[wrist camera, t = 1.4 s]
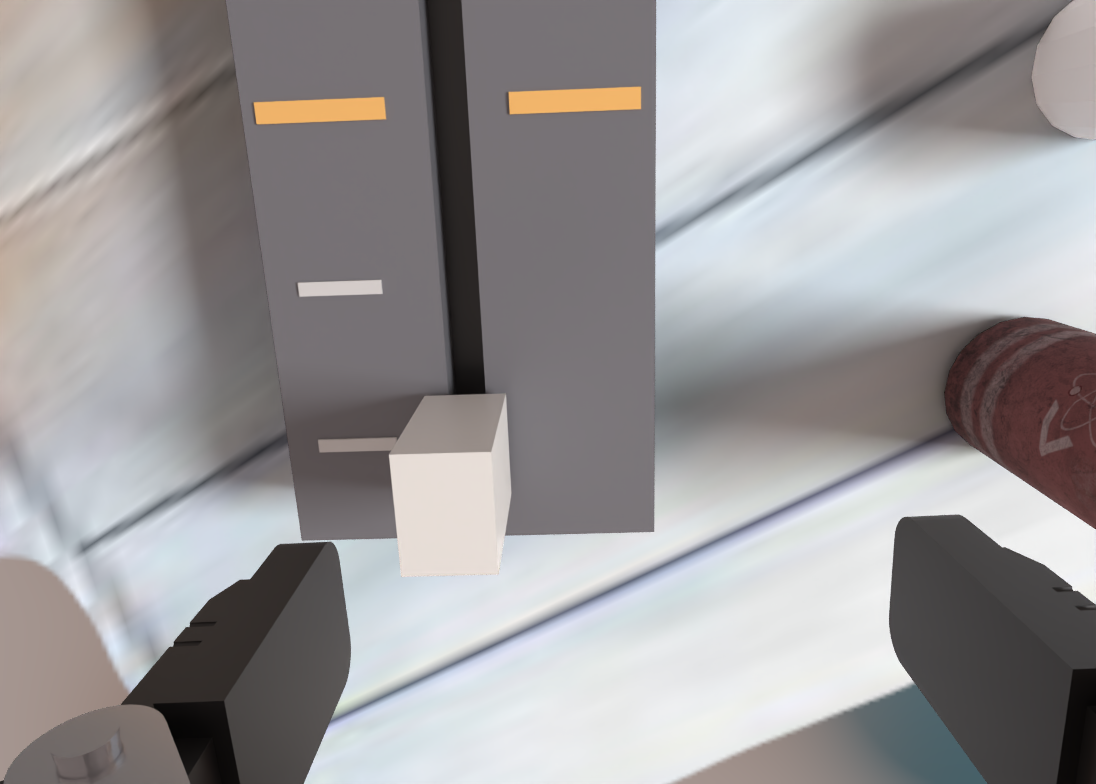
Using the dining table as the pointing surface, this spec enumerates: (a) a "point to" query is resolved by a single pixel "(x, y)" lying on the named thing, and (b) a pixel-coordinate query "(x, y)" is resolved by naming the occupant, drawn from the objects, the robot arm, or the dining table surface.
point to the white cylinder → (1068, 70)
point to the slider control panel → (458, 242)
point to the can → (1032, 406)
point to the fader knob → (452, 486)
